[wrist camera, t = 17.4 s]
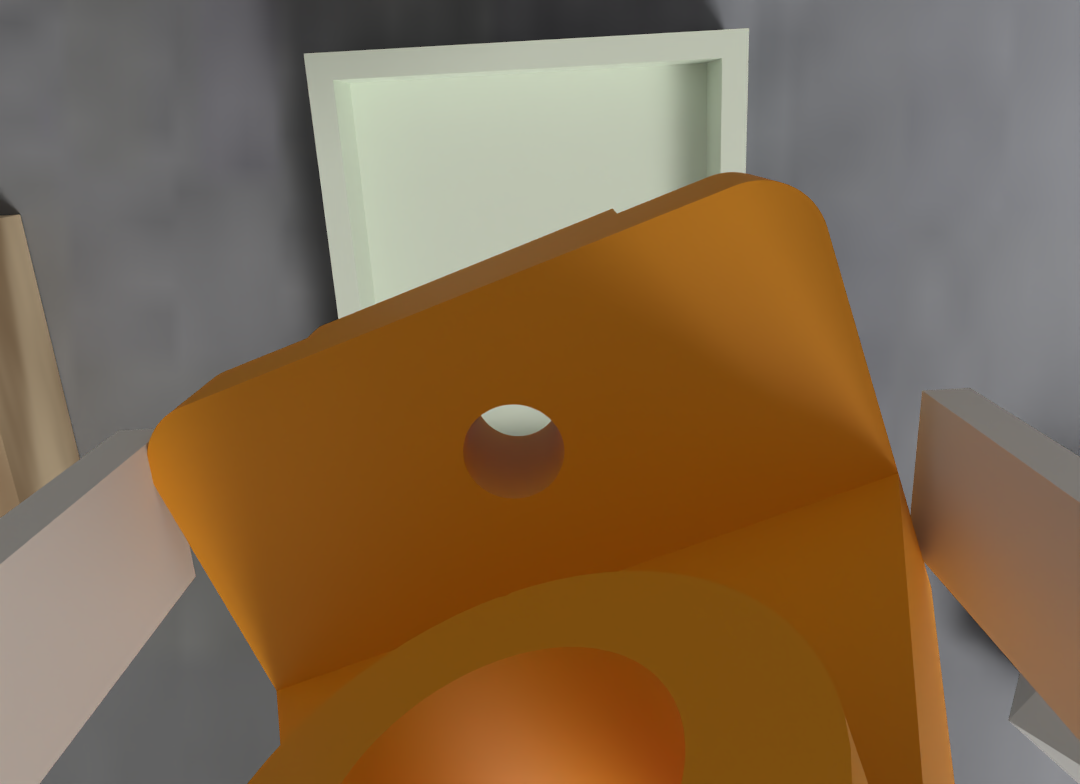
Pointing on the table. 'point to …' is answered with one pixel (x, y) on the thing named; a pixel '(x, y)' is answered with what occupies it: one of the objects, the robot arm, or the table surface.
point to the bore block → (27, 380)
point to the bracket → (578, 519)
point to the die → (1045, 728)
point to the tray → (510, 149)
